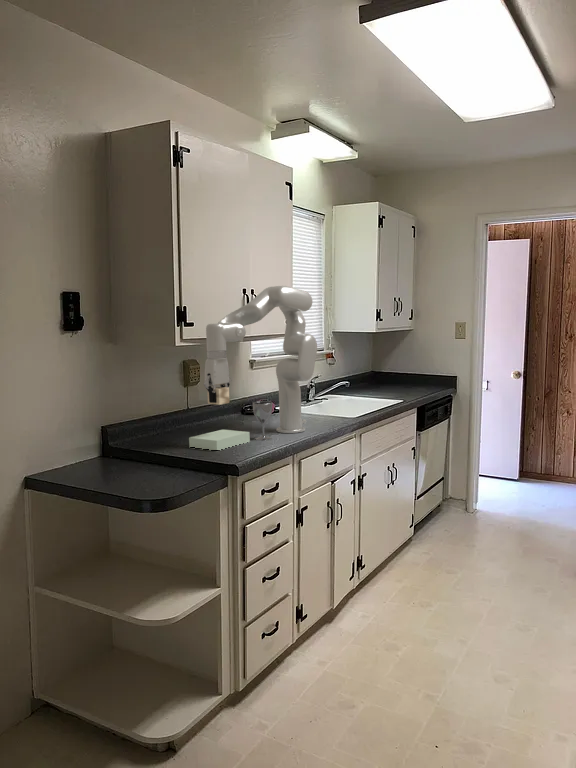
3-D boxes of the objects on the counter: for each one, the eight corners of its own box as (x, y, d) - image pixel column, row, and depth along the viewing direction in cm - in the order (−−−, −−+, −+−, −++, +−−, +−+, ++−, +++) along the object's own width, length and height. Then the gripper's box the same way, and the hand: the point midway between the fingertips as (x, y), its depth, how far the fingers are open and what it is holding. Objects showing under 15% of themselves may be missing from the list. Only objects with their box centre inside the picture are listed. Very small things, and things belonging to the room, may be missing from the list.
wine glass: (249, 439, 256) (248, 402, 255) (264, 436, 262) (263, 400, 260) (262, 441, 251) (261, 404, 249) (277, 438, 256) (276, 402, 255)
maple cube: (217, 402, 248) (217, 387, 248) (229, 402, 245) (228, 387, 244) (207, 403, 243) (207, 388, 243) (219, 404, 240) (218, 389, 239)
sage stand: (222, 438, 258) (222, 429, 258) (249, 441, 250) (249, 432, 250) (189, 447, 242) (189, 437, 241) (217, 451, 234) (216, 440, 233)
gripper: (223, 354, 251) (225, 398, 253) (194, 356, 237) (196, 403, 239) (238, 354, 247) (239, 399, 249) (209, 356, 233) (211, 404, 235)
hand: (218, 401), depth 244 cm, fingers closed on maple cube, 6 cm apart
